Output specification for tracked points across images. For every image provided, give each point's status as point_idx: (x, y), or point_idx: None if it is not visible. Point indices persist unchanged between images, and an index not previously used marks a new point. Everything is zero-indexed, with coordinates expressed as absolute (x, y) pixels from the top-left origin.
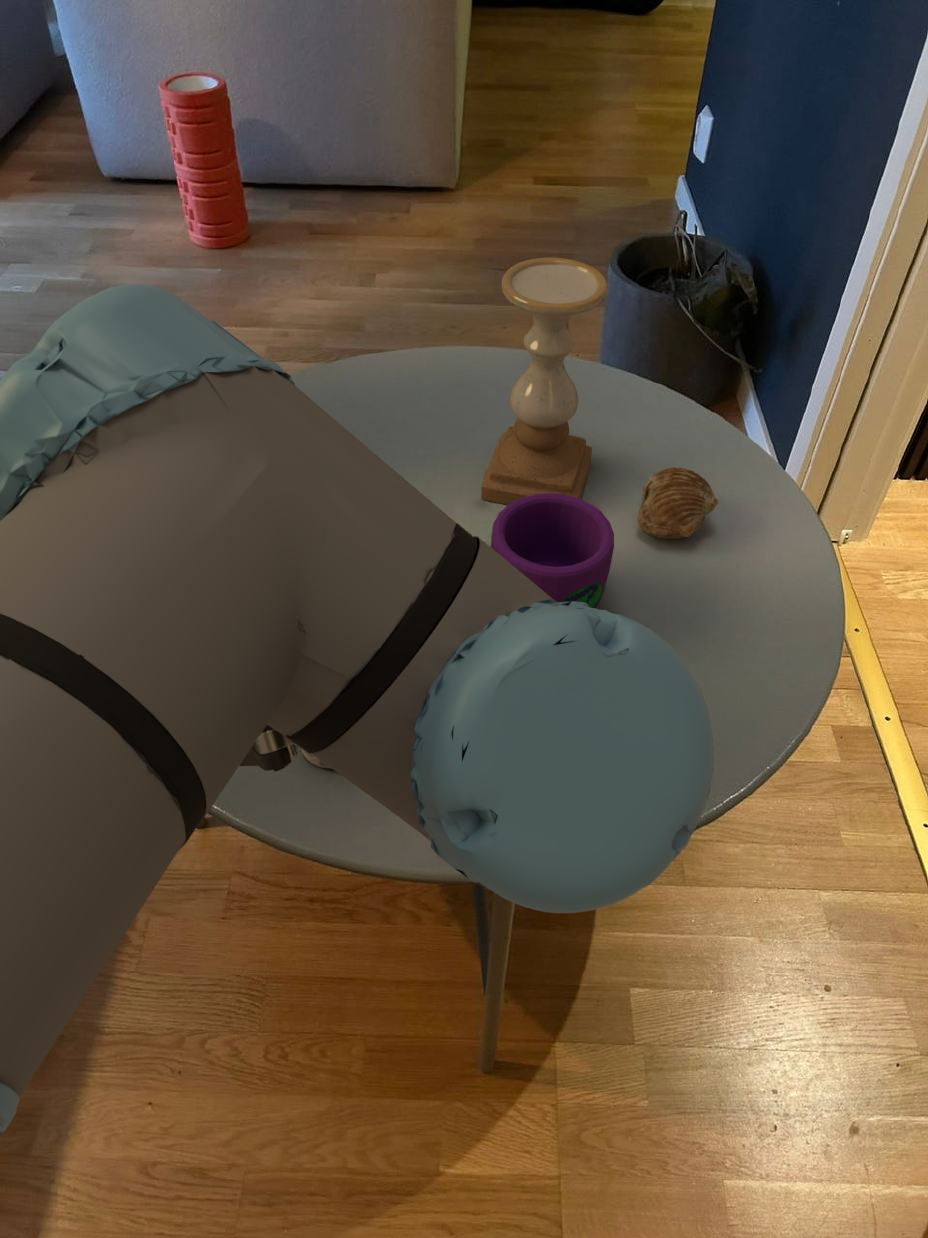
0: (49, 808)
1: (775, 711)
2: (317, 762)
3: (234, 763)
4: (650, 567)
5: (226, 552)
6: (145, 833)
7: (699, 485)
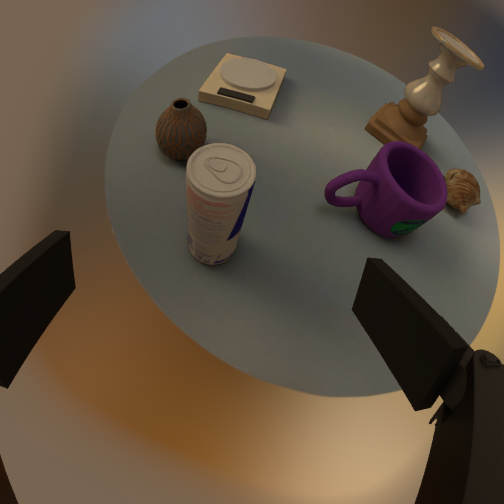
0: None
1: (461, 336)
2: (194, 255)
3: None
4: (438, 217)
5: None
6: None
7: (478, 189)
